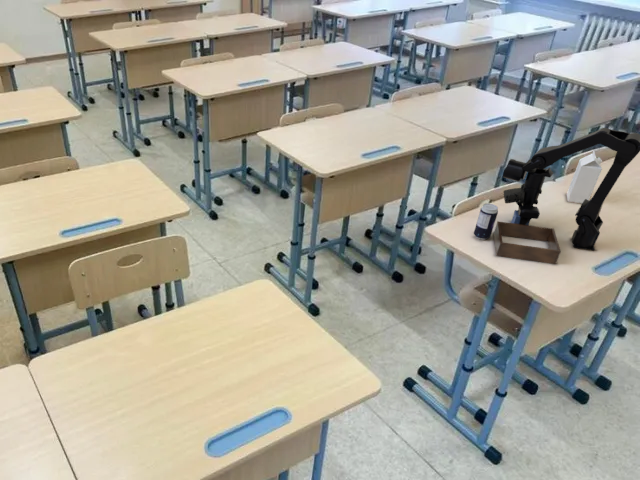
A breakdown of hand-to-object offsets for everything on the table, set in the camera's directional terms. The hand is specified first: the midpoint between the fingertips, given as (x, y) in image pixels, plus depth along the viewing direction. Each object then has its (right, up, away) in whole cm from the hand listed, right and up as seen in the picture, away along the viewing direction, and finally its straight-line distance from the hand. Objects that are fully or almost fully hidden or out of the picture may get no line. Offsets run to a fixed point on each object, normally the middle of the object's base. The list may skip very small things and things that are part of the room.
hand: (519, 223), depth 203 cm
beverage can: (-17, -6, -5) cm, 18 cm away
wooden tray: (-5, -10, -12) cm, 16 cm away
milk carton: (+31, +12, +17) cm, 38 cm away
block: (0, -1, +1) cm, 1 cm away
